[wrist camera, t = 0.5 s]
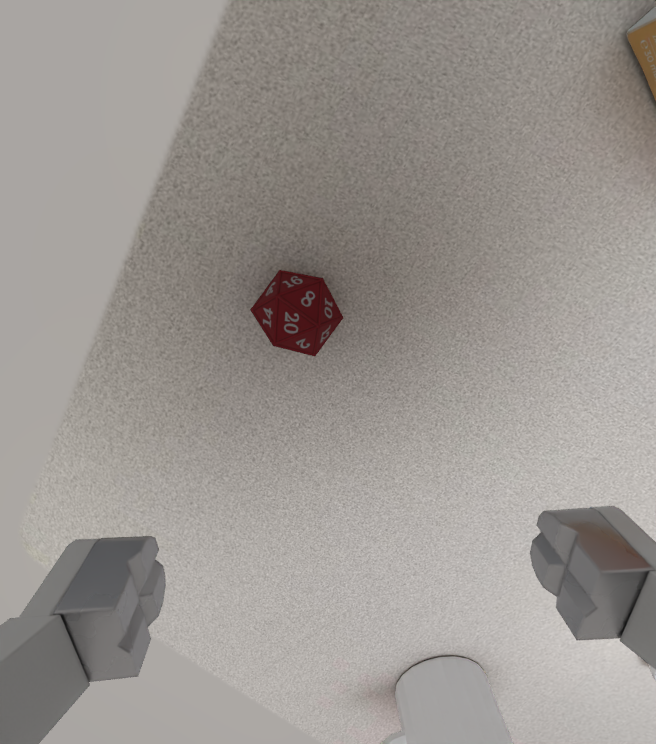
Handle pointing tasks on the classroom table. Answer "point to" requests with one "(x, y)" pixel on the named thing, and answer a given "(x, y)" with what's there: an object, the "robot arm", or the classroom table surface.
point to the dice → (297, 312)
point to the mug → (447, 705)
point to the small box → (645, 46)
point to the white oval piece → (653, 672)
